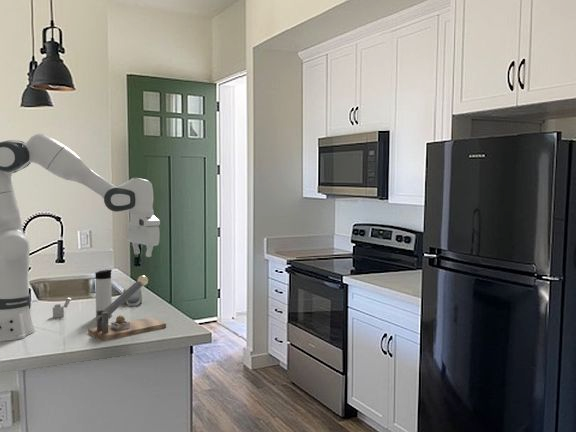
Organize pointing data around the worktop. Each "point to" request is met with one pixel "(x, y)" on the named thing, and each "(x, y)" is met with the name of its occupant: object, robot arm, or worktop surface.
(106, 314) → the nutcracker base
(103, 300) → the travel mug
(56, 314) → the lighter
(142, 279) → the lever
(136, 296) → the ceramic mug
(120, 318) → the walnut
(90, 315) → the worktop surface
